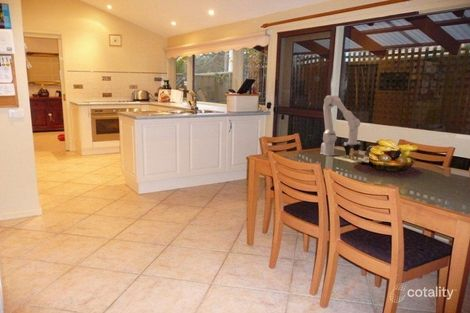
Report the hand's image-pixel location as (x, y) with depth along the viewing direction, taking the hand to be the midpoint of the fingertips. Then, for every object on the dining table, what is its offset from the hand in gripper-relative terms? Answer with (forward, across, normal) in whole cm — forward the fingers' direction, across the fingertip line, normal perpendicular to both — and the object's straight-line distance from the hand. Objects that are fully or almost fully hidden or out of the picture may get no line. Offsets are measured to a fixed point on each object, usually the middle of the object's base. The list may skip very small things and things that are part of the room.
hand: (351, 155), depth 249 cm
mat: (+3, 0, 0) cm, 3 cm away
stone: (+3, +1, -17) cm, 17 cm away
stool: (+3, 0, 0) cm, 3 cm away
